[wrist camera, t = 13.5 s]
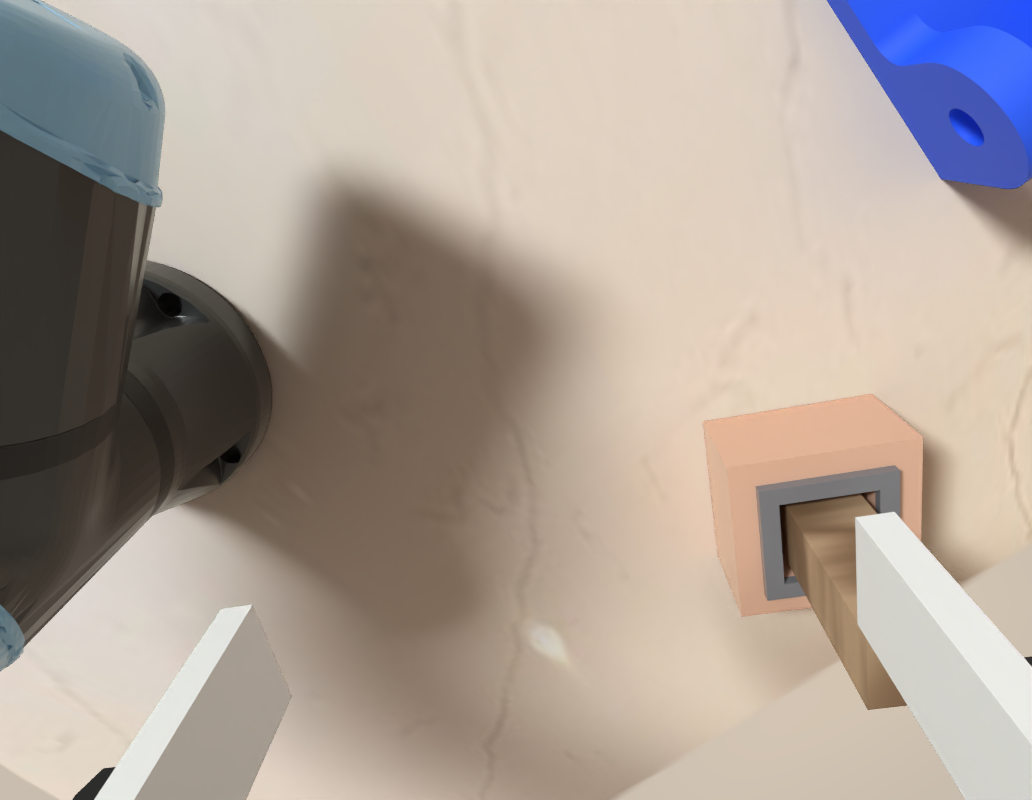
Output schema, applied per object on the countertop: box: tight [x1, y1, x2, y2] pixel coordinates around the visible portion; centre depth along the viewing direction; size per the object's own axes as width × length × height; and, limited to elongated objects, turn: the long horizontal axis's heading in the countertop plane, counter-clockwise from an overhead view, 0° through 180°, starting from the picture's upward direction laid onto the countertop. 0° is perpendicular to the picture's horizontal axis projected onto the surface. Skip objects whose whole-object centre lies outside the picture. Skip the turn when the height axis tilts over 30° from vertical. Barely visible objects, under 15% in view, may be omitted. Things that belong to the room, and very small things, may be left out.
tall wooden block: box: [779, 493, 907, 710], centre depth 35 cm, size 4×4×14 cm
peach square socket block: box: [703, 394, 923, 617], centre depth 40 cm, size 10×10×7 cm
